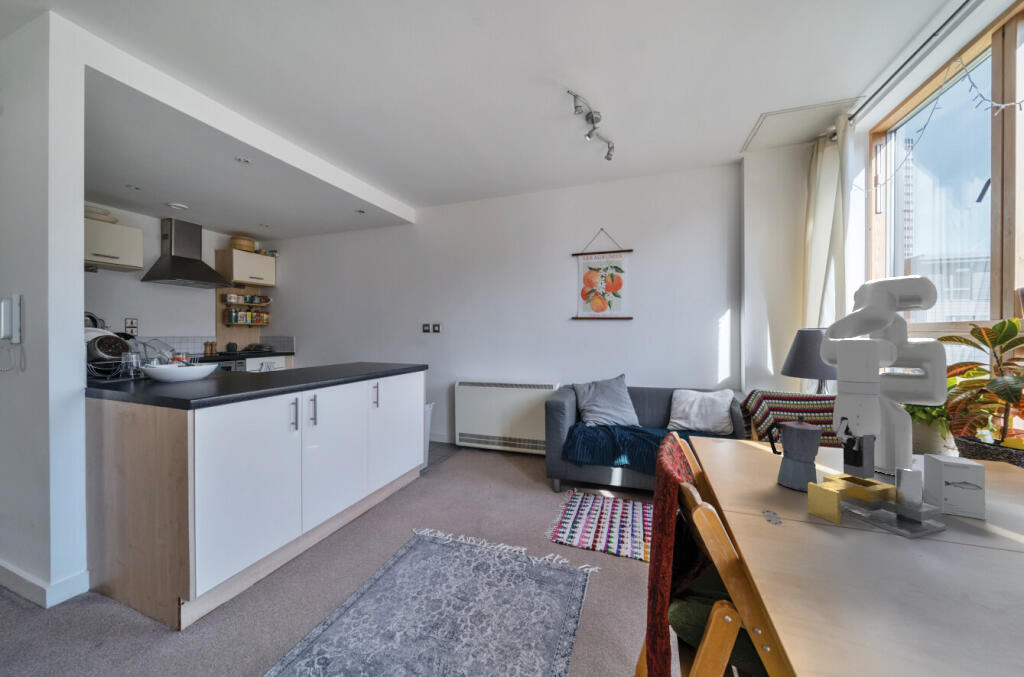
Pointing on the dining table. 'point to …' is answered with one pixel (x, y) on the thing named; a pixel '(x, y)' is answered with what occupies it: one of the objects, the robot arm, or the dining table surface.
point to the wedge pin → (863, 459)
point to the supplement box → (955, 485)
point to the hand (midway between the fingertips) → (858, 463)
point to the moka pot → (797, 452)
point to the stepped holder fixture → (876, 502)
